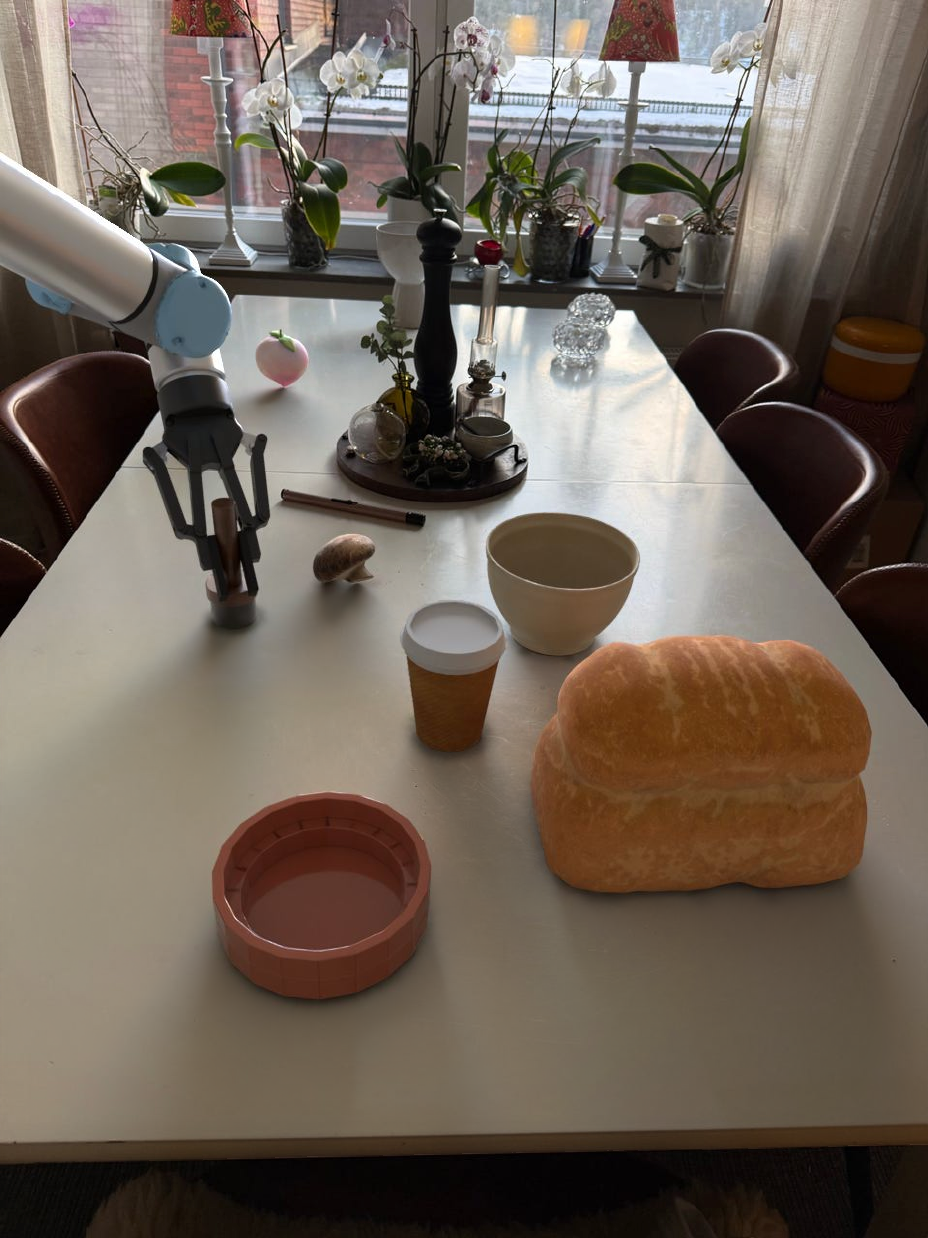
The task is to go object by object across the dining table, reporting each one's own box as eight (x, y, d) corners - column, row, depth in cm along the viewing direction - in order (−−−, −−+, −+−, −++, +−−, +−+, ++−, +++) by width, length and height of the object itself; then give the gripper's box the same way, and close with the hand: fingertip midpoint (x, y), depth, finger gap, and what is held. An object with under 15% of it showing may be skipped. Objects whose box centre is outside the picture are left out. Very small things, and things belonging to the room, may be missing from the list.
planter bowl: (457, 653, 100) (463, 565, 94) (508, 582, 112) (515, 500, 106) (604, 693, 95) (619, 603, 89) (639, 614, 108) (654, 530, 102)
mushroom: (398, 566, 108) (368, 520, 106) (341, 606, 106) (310, 560, 104) (379, 565, 115) (352, 522, 114) (326, 602, 113) (297, 559, 112)
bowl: (222, 1025, 63) (214, 979, 60) (216, 851, 75) (210, 806, 72) (448, 983, 66) (451, 938, 63) (407, 824, 79) (408, 780, 76)
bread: (870, 892, 75) (942, 727, 65) (549, 907, 72) (575, 737, 63) (794, 760, 88) (845, 606, 78) (520, 768, 85) (537, 609, 76)
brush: (210, 632, 101) (195, 516, 93) (209, 605, 105) (195, 492, 97) (261, 628, 102) (251, 512, 94) (258, 601, 106) (248, 489, 98)
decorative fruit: (247, 383, 164) (242, 326, 158) (287, 374, 169) (283, 318, 163) (277, 399, 158) (273, 340, 153) (317, 389, 163) (315, 332, 158)
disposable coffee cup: (508, 760, 86) (518, 653, 79) (404, 767, 84) (406, 660, 78) (488, 696, 94) (496, 594, 87) (394, 702, 92) (394, 599, 86)
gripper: (259, 395, 107) (305, 591, 104) (117, 409, 102) (161, 617, 98) (267, 364, 100) (317, 573, 97) (115, 378, 95) (163, 600, 91)
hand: (238, 595), depth 98 cm, fingers closed on brush, 2 cm apart
